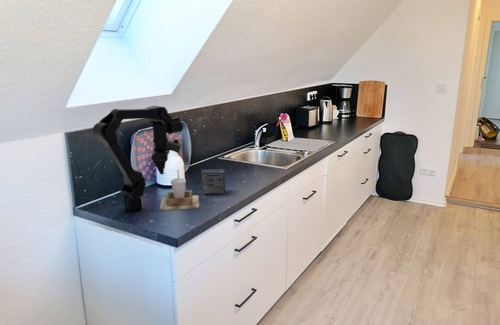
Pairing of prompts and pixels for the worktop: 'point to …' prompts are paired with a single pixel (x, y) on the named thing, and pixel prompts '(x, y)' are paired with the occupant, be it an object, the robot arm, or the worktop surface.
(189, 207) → the bottle stand
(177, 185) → the smoothie
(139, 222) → the worktop surface
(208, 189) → the small box
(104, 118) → the robot arm
